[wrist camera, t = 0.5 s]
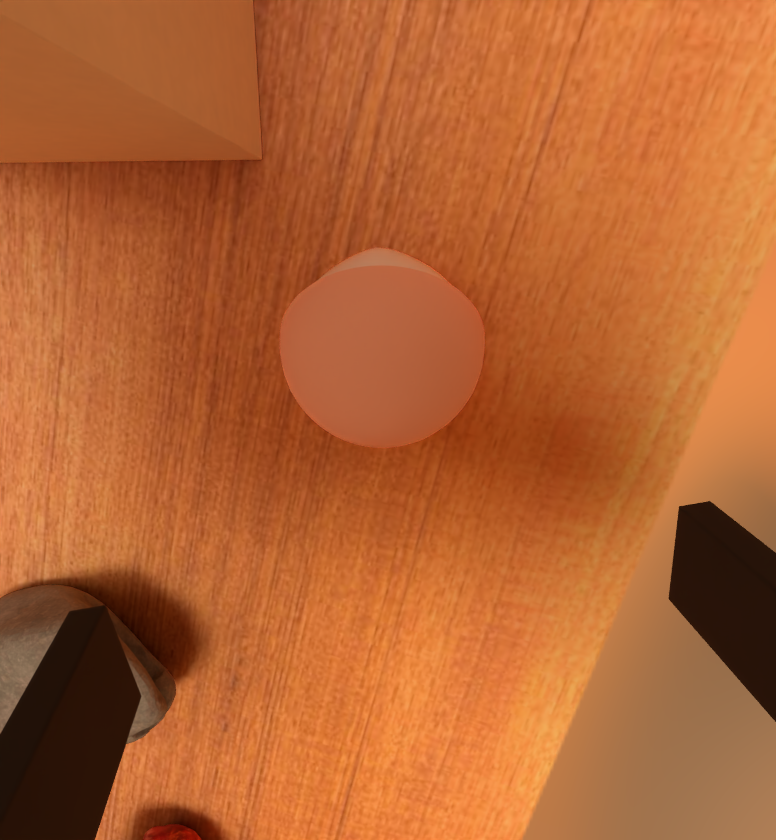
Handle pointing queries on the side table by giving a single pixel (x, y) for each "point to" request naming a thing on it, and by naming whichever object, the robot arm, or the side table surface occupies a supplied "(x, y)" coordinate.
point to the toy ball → (382, 349)
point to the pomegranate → (171, 833)
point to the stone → (33, 634)
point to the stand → (128, 81)
